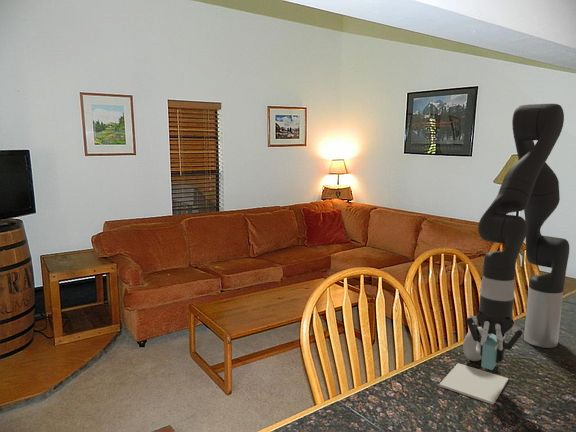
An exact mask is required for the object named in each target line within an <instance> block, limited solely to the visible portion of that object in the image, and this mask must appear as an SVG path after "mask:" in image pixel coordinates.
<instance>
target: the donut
mask: <svg viewBox="0 0 576 432" xmlns="http://www.w3.org/2000/svg"><path fill="white" fill-rule="evenodd" d="M477 327H478V330H479V332H480V335H481V336H482V332H483V328H482V327H481V326H477ZM490 335H491V334H490ZM490 335H489V336H490ZM462 351H463V355H464V356H465V358H466V359H467V360H469V361H472V362H479V361H480V360H481V361H482V356H481V355H480V351H481V344H480V343H479V342H478V341H474V339H473V337H472V334H471V332H470V330H469V331H468V332H467V333H466V335H465V337H464V339H463V344H462Z"/></svg>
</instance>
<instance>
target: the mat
mask: <svg viewBox="0 0 576 432" xmlns="http://www.w3.org/2000/svg"><path fill="white" fill-rule="evenodd" d="M508 381H509V378H508V377H506V376H502V375H499V374H494V373H492V372H488V371H485V370H483V369H478V368H475V367H471V366H469V365H466V364H461V363H459V362H458V363H456V365H455V366H453V368H452V369H451V370H450V371H449V373H448V374H447V375H446V376H445V377H444V378H443V379H442V381H441V382H440V383H439V385H438V386H439V387H441V388H443V389H447V390H449V391H452V392H456V393H458V394H461V395H464V396H466V397H469V398H473V399H475V400H479V401H481V402H484V403H487V404H490V405H494V404H495V403H496V401H497V399H498V398H499V396H500V394H501V393H502V391H503V390H504V388H505V387H506V385H507V383H508Z"/></svg>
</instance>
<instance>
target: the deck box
mask: <svg viewBox="0 0 576 432" xmlns="http://www.w3.org/2000/svg"><path fill="white" fill-rule="evenodd" d="M497 349H498V344H497V339H496V335H494V334H490V336H489V338H488V339H487V340H486V341H485V342H484V343H483V350H482V359H481V368H484V369H487V370H490V371H493V370H494V369H495V368H496V366H497V364H498V363H496V356H497Z"/></svg>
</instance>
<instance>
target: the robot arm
mask: <svg viewBox="0 0 576 432" xmlns="http://www.w3.org/2000/svg"><path fill="white" fill-rule="evenodd" d="M564 114H565V113H564V109H563V107H562V106H561V105H560V104H559V103H536V104H534V103H533V104H522V105H519V106H517V107H516V108H515V110H514V112H513V115H512V126H511V127H512V134H513V139H514V143H515V149H516V153H517V159H518V160H517V161H516V162H515V163H514V164H513V165H512V166H510V168H509V169H508V171H507V172H506V173H505V176H504V178H503V179H502V182H501V186H500V188H499V189H498V194H497V195H496V197H495V198H494V200H493V201H492V202H491V204H490V205H489V207H488V208H487V209H486V210H485V212H484V213H483V215H482V216H481V217H480V220H479V223H478V225H477V227H478V228H477V230H478V234H479V237H480V238H481V239H482V240H483V241H487V242H490V243H497V244H501V245H505V248H504V250H495V251H493V250H492V251H488V252H486V253H485V255H484V258H483V266H482V267H483V268H482V269H483V270H482V279H481V283H480V288H479V292H480V293H479V294H480V295H479V305H478V312H477V314H476V315H474V316H472V315H470V316H468V317H467V318H466V320H465V322H466V324H467V327H468V329H469V331H470V332H471V334H472V337H473V339H474V341H478V342H479V343H480V344H481V351H480V355H481V356H482V350H483V343H484V342H485V341H486V340H487V339H488V338H489V335H491V334H494V335H496V339H497V344H498V349H497V356H496V363H497V364H500V363H501V362H503V360H504V358H505V350H508V351H510V350H512V348H513V347H514V345H515V344H516V342H517V341H518V340H519V339H520V338H521V336H522V335H523V334H524V335H523V339H524V341H525V342H526V343H528V344H530V345H532V346H535V347H539V348H544V349H545V348H547V349H550V348H551V349H553V348H556V347H558V345H559V344H558V343H559V336H560V326H561V325H560V324H561V319H562V318H561V317H562V307H563V298H564V297H563V296H564V291H565V290H564V287H565V282H566V274H567V273H566V272H567V268H568V261H569V258H570V257H569V256H570V243H569V241H568V240H567V239H566V238H563V237H556V236H549V235H542V233H541V229H542V227H543V225H544V223H545V222H546V221H547V220H548V218H549V217H550V216H551V215H552V214H553V213H554V212H555V210H556V209H557V207H558V206H559V203H560V199H561V198H560V197H561V196H560V183H559V179H558V177H557V175H556V173H555V172H554V170H553V169H552V167H550V166H549V164H547V162H546V161H547V160H548V158H549V156H550V155H551V153H552V151H553V149H554V147H555V145H556V143H557V141H558V139H559V138H560V136H561V133H562V130H563V128H564V122H565V115H564ZM534 141H536V143H535V142H534ZM522 211H523V212H524V218H523V217H522V216H520V215H513V214H510V213H518V212H522ZM524 242H525V257H526V259H527V261H528V263H529V264H531V265H534V266H537V267H538V266H540V267H544V268H550V270H551V271H550V272H549V273H545V274H544V273H543V274H535V275H533V276H530V278H529V280H528V289H527V300H526V301H527V303H526V313H525V324H524V327H519V326H518V325H516V324H515V322H514V319H513V314H514V313H513V312H514V303H515V302H514V301H515V300H514V299H515V289H516V288H515V276H516V275H515V274H516V265H517V259H518V257H519V254H520V251H521V249H522V246H523V244H524ZM478 323H479V325H480V327H482V328H483V332H482V336H481V335H480V332H479V330H478V327H479V326H478V325H477V324H478ZM510 329H511V330H512V332H511V334H512V335H513V336H512V337H511V338H510V340H509V341H508V342H506V333H507V332H508V331H510Z"/></svg>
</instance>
